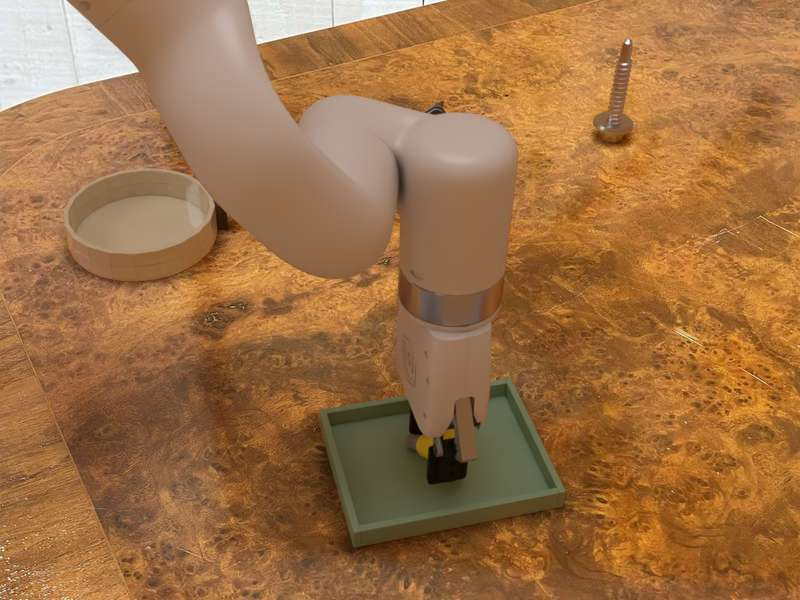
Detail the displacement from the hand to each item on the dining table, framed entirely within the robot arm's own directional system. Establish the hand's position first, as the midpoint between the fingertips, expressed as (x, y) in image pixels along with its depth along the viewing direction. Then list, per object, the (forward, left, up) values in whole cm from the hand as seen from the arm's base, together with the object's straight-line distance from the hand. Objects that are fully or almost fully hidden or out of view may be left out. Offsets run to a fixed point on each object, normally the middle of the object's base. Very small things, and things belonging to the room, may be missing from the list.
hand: (436, 453), depth 87 cm
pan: (-21, +37, -1) cm, 43 cm away
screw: (+35, +45, -2) cm, 57 cm away
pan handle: (-8, +37, -1) cm, 38 cm away
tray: (0, 0, -1) cm, 1 cm away
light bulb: (0, 0, -1) cm, 1 cm away
